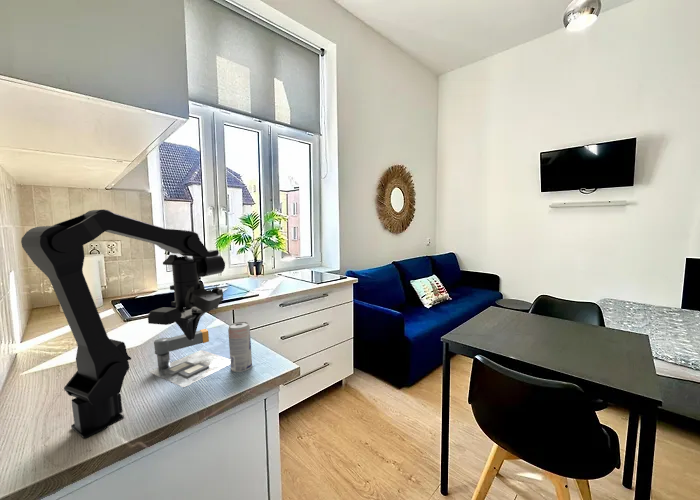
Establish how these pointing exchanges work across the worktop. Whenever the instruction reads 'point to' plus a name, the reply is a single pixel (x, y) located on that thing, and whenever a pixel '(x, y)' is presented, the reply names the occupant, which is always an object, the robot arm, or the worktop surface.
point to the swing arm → (179, 342)
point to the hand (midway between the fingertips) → (191, 339)
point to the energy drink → (240, 346)
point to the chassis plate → (195, 358)
